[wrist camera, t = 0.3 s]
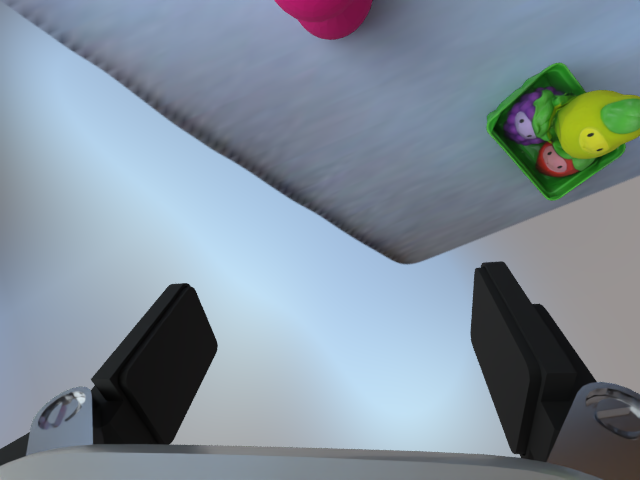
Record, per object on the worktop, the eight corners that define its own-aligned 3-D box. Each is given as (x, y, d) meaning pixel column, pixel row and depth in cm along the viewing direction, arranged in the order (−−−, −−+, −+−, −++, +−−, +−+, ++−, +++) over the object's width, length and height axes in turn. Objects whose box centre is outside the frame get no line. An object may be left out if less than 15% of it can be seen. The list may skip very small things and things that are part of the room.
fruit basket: (467, 117, 36) (506, 142, 26) (545, 45, 32) (624, 44, 22) (530, 187, 39) (586, 232, 29) (609, 128, 35) (703, 159, 25)
